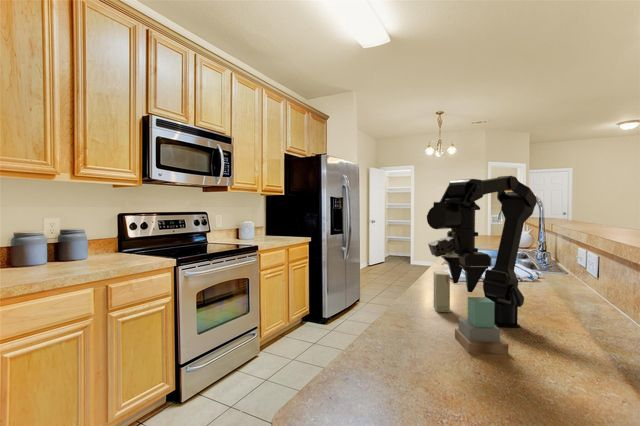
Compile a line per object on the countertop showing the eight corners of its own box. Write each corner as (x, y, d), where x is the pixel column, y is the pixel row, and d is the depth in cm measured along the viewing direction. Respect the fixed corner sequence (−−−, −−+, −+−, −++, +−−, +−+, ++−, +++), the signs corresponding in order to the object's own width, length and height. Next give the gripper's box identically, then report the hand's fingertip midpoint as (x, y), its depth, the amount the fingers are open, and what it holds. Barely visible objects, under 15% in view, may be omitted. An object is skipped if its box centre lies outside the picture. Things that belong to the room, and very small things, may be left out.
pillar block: (486, 321, 83) (486, 297, 83) (494, 327, 78) (494, 302, 78) (467, 320, 83) (467, 296, 83) (474, 327, 79) (474, 302, 79)
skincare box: (450, 313, 105) (450, 274, 105) (435, 312, 106) (436, 274, 105) (446, 307, 111) (447, 270, 111) (433, 306, 112) (433, 270, 112)
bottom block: (490, 340, 85) (490, 329, 85) (508, 357, 76) (508, 344, 76) (454, 340, 86) (455, 328, 86) (468, 356, 77) (468, 343, 77)
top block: (486, 330, 85) (486, 318, 84) (499, 341, 78) (500, 329, 77) (458, 329, 85) (458, 318, 85) (469, 341, 78) (469, 328, 78)
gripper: (421, 225, 95) (421, 279, 96) (444, 230, 77) (444, 297, 77) (460, 225, 95) (459, 279, 96) (493, 230, 77) (492, 297, 77)
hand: (462, 287), depth 86 cm, fingers open, 9 cm apart
